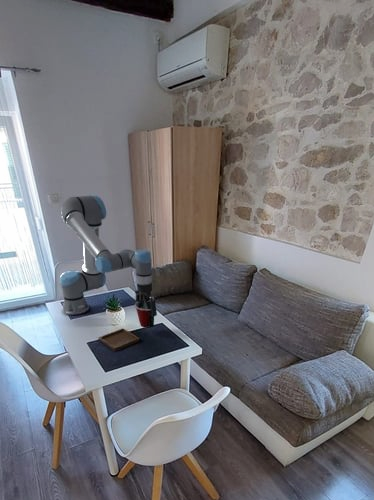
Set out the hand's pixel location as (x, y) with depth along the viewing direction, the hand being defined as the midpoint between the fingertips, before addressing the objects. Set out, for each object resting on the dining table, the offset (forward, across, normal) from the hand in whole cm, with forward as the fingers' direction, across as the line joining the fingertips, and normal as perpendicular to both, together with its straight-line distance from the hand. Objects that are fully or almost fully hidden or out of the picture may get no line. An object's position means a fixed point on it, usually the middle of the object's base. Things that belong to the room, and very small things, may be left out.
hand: (146, 323), depth 167 cm
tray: (+6, +4, +16) cm, 17 cm away
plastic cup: (+1, 0, 0) cm, 1 cm away
